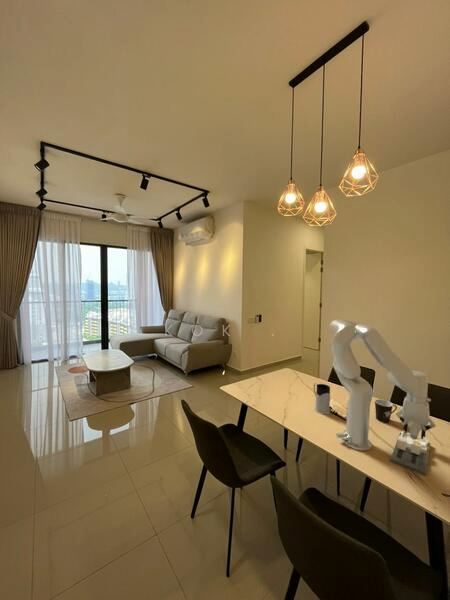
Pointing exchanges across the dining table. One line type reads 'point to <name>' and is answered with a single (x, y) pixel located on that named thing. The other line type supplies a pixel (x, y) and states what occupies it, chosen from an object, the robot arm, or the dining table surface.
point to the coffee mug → (383, 410)
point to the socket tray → (409, 440)
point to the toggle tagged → (415, 447)
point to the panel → (411, 459)
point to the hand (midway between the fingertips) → (414, 434)
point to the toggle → (402, 443)
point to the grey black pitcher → (322, 398)
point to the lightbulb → (414, 428)
